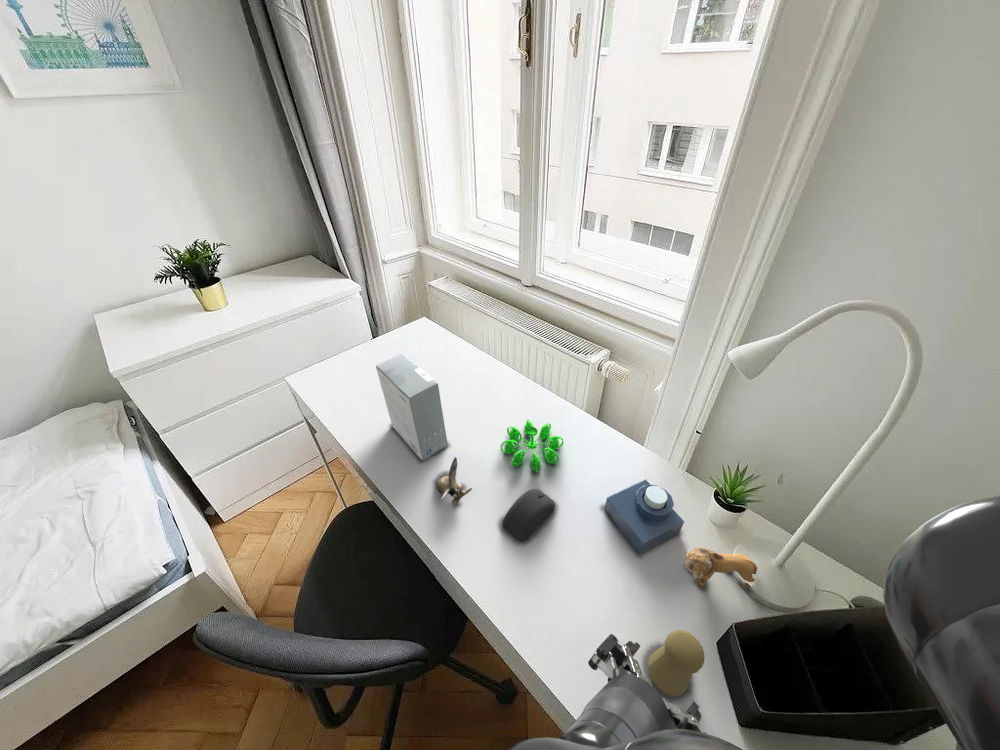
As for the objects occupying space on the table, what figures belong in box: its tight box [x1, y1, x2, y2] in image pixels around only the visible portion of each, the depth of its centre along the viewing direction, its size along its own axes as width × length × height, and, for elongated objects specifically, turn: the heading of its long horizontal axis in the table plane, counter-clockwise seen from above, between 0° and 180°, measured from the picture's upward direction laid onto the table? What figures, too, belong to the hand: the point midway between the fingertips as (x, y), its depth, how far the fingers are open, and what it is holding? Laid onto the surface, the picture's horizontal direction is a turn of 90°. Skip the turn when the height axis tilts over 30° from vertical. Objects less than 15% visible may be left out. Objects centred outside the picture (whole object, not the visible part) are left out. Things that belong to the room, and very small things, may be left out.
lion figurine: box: [684, 547, 758, 589], centre depth 71 cm, size 15×5×9 cm, turn 95°
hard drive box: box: [375, 353, 449, 461], centre depth 96 cm, size 16×8×20 cm, turn 40°
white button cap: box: [644, 485, 667, 509], centre depth 79 cm, size 4×4×2 cm
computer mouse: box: [501, 488, 556, 542], centre depth 83 cm, size 6×11×4 cm, turn 137°
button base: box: [604, 479, 685, 555], centre depth 81 cm, size 11×10×6 cm
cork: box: [647, 629, 705, 697], centre depth 60 cm, size 6×6×11 cm
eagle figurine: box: [434, 456, 473, 506], centre depth 88 cm, size 8×7×9 cm
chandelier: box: [500, 418, 564, 473], centre depth 96 cm, size 15×15×7 cm
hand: (661, 677), depth 54 cm, fingers open, 8 cm apart
